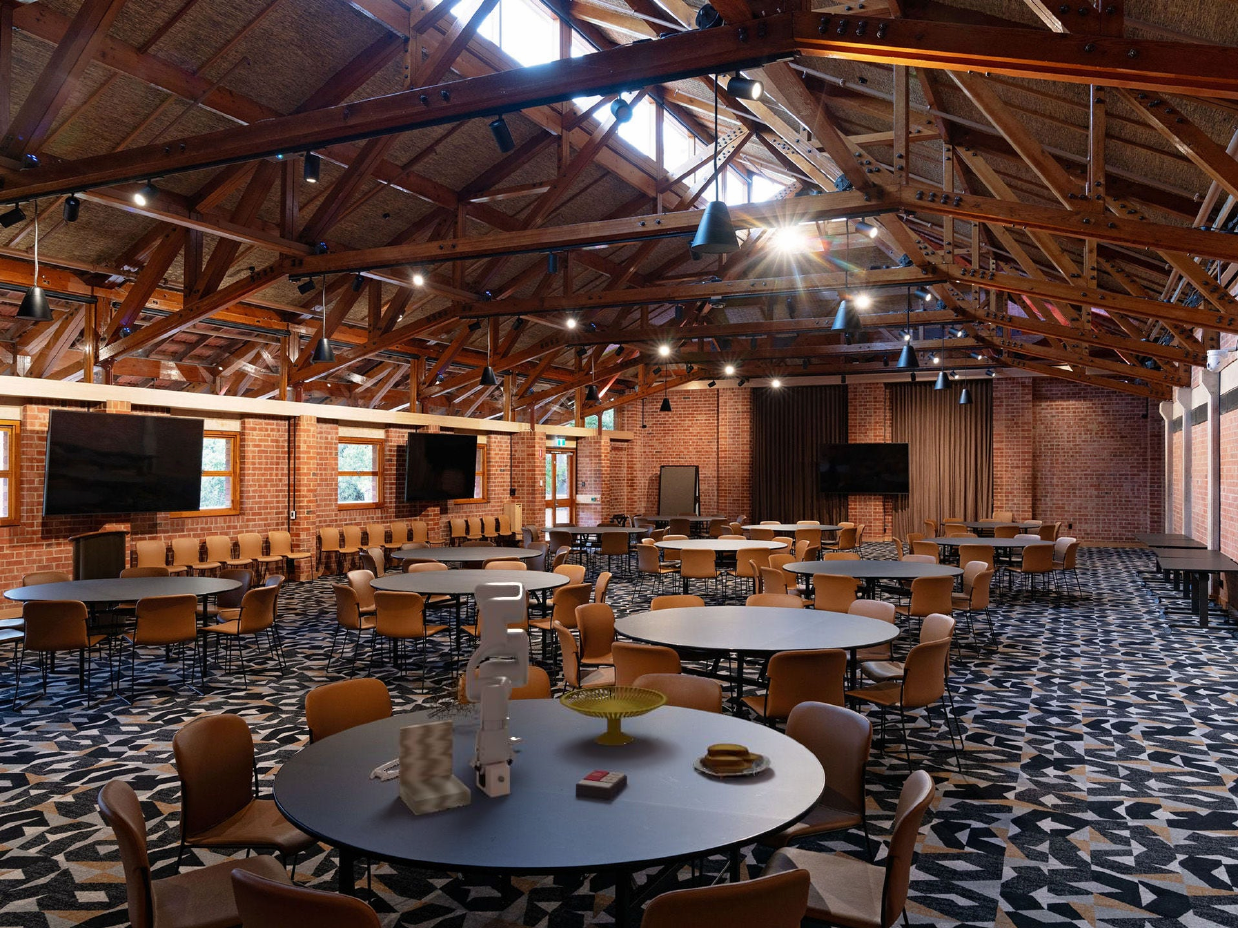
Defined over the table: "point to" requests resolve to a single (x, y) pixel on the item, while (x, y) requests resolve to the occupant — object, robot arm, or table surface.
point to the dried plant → (450, 701)
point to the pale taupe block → (496, 779)
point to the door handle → (384, 774)
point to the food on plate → (731, 761)
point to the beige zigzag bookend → (429, 769)
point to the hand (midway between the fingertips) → (493, 783)
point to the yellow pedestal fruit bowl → (613, 709)
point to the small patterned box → (601, 785)
